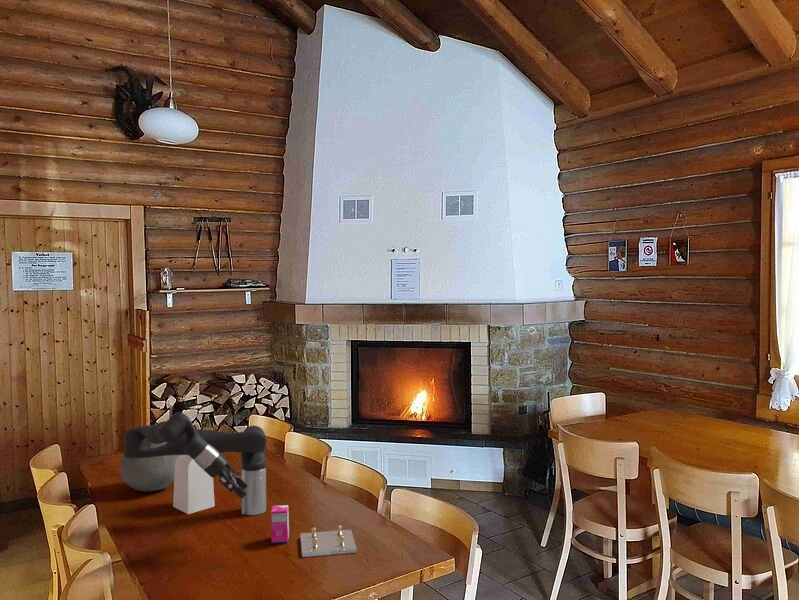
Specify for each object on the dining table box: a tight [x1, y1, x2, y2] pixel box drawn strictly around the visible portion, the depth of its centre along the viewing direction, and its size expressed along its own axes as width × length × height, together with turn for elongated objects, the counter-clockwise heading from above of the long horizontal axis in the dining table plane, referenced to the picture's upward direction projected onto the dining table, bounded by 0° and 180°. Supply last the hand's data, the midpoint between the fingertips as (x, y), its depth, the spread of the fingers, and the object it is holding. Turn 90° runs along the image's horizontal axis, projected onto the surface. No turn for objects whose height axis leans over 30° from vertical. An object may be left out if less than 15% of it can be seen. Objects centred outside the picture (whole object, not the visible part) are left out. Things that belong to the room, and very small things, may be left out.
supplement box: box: [270, 504, 290, 545], centre depth 217 cm, size 6×6×12 cm
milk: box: [172, 455, 216, 515], centre depth 250 cm, size 12×12×26 cm
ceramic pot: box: [119, 442, 180, 492], centre depth 270 cm, size 24×24×25 cm
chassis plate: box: [299, 524, 358, 558], centre depth 213 cm, size 18×16×4 cm
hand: (245, 492), depth 214 cm, fingers open, 8 cm apart
